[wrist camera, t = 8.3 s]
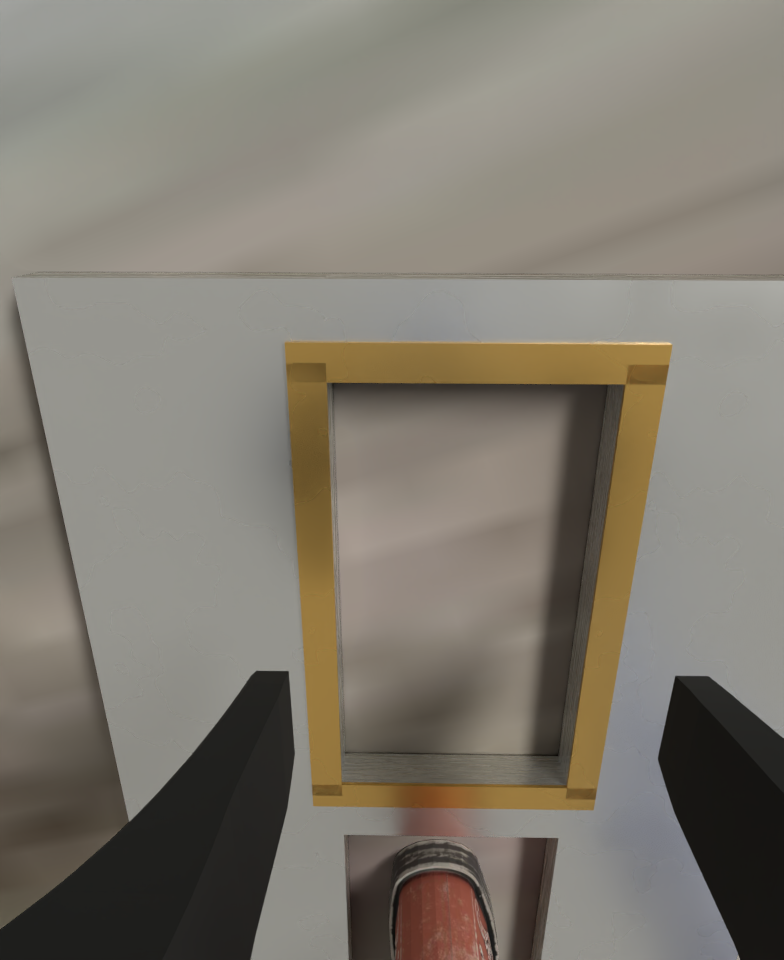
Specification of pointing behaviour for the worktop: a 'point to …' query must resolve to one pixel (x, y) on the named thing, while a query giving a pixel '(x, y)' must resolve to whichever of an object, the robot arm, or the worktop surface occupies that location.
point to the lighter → (440, 905)
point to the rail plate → (315, 567)
